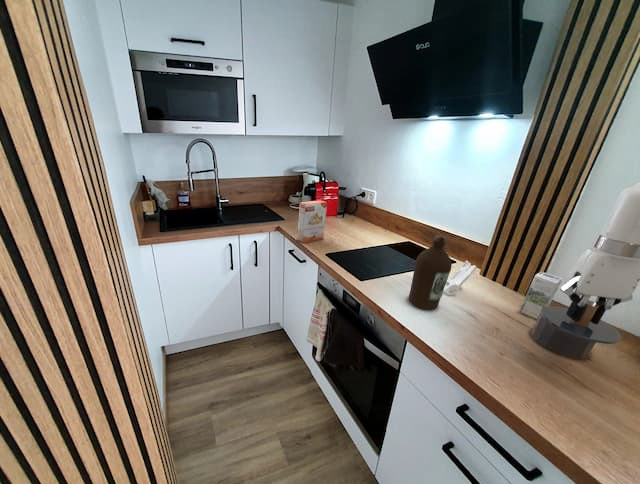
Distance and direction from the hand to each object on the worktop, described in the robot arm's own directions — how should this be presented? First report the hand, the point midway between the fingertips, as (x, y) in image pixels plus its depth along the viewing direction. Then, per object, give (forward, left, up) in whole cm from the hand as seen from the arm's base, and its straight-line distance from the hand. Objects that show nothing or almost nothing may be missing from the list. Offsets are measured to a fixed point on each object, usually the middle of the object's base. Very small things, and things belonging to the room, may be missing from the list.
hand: (581, 318), depth 67 cm
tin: (-8, -12, -16) cm, 21 cm away
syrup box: (-9, -27, -16) cm, 33 cm away
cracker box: (+71, -78, -16) cm, 107 cm away
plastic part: (+13, -38, -16) cm, 43 cm away
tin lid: (0, 0, -2) cm, 2 cm away
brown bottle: (+26, -25, -16) cm, 39 cm away
